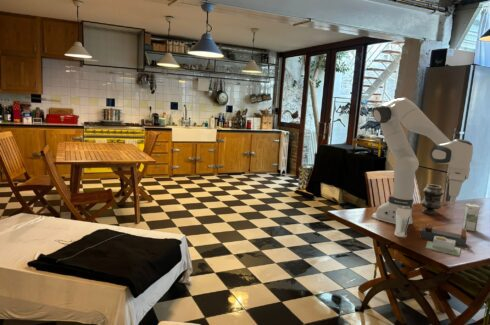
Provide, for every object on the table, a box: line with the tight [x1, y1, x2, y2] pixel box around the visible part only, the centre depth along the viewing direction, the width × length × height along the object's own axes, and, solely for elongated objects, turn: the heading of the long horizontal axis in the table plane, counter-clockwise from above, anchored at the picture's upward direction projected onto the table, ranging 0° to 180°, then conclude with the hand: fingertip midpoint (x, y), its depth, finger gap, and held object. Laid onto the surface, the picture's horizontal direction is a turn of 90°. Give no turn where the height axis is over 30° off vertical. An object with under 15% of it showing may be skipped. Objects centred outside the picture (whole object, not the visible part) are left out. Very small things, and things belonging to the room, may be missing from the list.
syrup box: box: [462, 202, 480, 232], centre depth 202 cm, size 6×6×14 cm
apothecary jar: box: [420, 183, 444, 216], centre depth 233 cm, size 12×12×18 cm
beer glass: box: [393, 206, 411, 238], centre depth 186 cm, size 7×7×15 cm
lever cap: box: [432, 236, 456, 252], centre depth 171 cm, size 9×5×5 cm, turn 57°
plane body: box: [419, 222, 468, 248], centre depth 183 cm, size 20×7×8 cm, turn 57°
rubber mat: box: [425, 240, 461, 257], centre depth 172 cm, size 14×10×1 cm
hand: (452, 202), depth 172 cm, fingers open, 8 cm apart
